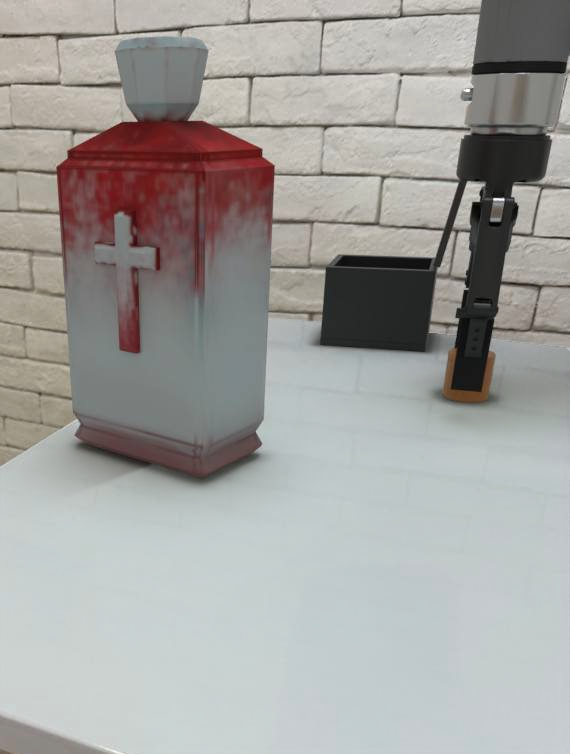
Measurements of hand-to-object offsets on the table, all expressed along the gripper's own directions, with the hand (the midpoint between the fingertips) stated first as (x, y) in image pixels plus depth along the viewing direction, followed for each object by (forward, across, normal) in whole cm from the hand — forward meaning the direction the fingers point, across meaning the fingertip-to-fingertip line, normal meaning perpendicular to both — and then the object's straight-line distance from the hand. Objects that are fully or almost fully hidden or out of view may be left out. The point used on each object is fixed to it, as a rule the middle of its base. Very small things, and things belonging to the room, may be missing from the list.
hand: (466, 371), depth 81 cm
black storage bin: (+3, -22, -11) cm, 25 cm away
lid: (-14, -23, -4) cm, 27 cm away
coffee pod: (+3, 0, 0) cm, 3 cm away
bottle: (+3, +23, -24) cm, 33 cm away
